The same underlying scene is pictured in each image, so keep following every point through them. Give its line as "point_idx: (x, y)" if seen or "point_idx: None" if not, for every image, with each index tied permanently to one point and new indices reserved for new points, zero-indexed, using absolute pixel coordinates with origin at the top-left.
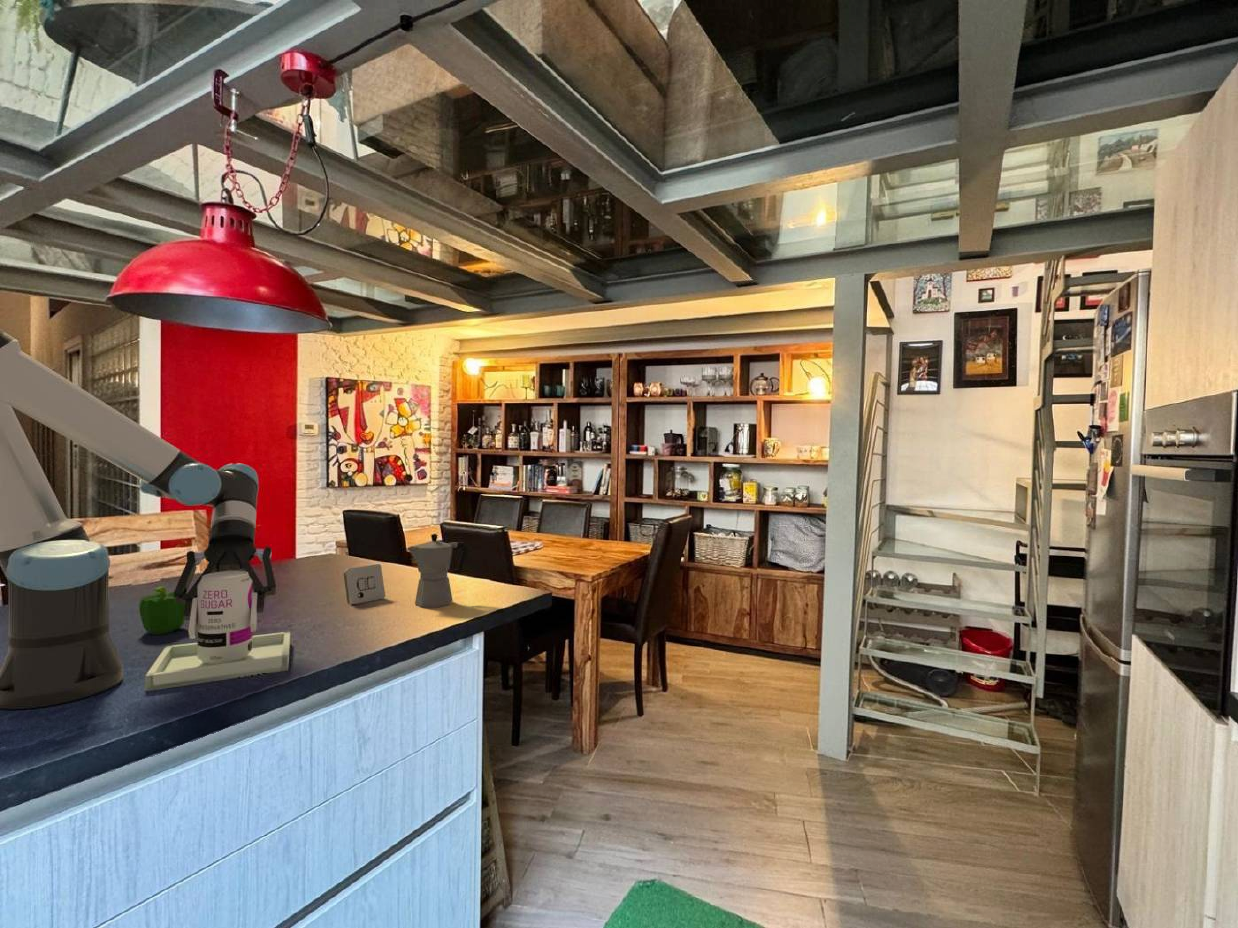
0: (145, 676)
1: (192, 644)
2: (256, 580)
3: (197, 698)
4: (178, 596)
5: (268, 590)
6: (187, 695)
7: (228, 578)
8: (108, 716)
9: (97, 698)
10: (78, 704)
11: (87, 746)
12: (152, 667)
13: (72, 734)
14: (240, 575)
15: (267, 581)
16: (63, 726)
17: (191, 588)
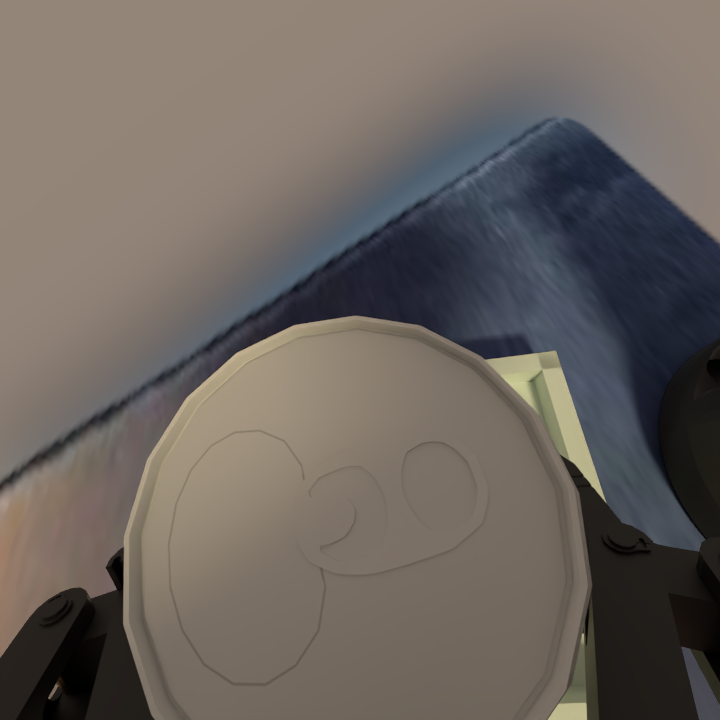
0: (554, 351)
1: (560, 706)
2: (120, 679)
3: (402, 294)
4: (705, 541)
5: (108, 598)
6: (428, 315)
7: (289, 328)
8: (546, 253)
9: (644, 358)
10: (667, 332)
11: (511, 159)
12: (576, 424)
13: (566, 199)
14: (203, 472)
15: (51, 659)
16: (610, 231)
17: (663, 607)
